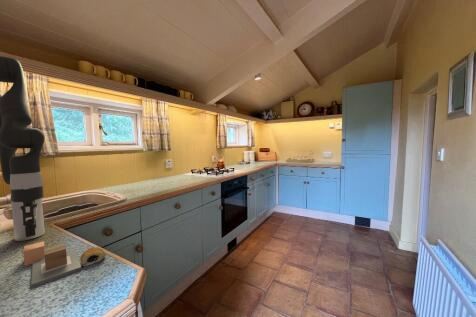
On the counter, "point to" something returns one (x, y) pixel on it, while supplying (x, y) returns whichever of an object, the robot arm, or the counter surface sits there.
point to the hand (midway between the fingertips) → (31, 232)
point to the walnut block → (55, 256)
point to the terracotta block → (33, 252)
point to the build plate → (54, 269)
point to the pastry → (92, 256)
